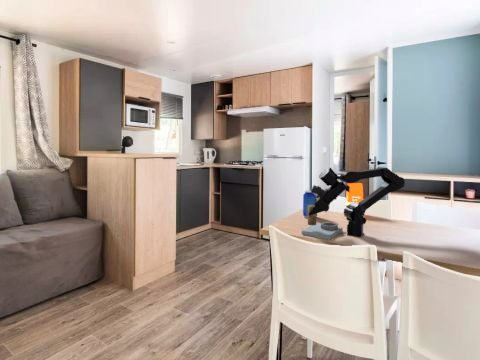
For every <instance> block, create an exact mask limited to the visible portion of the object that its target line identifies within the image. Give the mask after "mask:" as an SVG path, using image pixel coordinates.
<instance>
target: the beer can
mask: <svg viewBox="0 0 480 360" xmlns="http://www.w3.org/2000/svg"><path fill="white" fill-rule="evenodd" d="M316 196H317V194H315V193H312V192H311V190H305V191H304V193H303V195H302V216H303V217H304V218H305V219H308V206H309V205H314V204H315V198H316ZM316 199H317V198H316ZM316 217H318V213H316Z"/></svg>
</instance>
